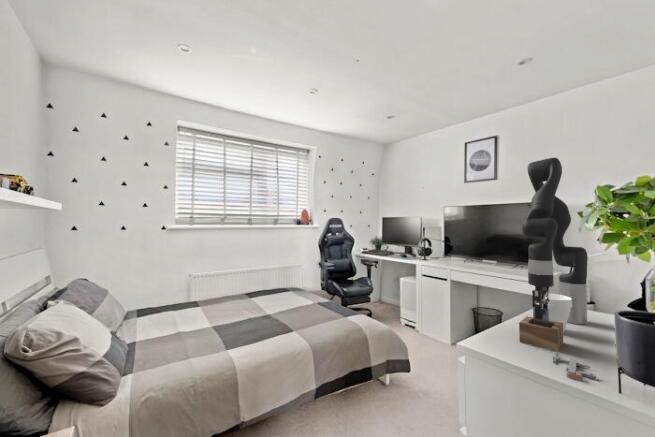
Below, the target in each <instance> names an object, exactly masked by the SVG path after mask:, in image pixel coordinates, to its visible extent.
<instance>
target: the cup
mask: <svg viewBox="0 0 655 437" xmlns="http://www.w3.org/2000/svg"><path fill="white" fill-rule="evenodd" d="M537 304H538V305H539V303H537ZM547 305H548V309H549V321H554V322H559V323H563V334H564V333H565V330H566V327H567V323H568V322H567V320H568V316H569V313H570V309H571V307H572V298H570V297H567V296H563V295H560V294H557V293H556V294H555V293H550V292H549V303H548V304H547Z"/></svg>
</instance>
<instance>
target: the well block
mask: <svg viewBox="0 0 655 437" xmlns="http://www.w3.org/2000/svg"><path fill="white" fill-rule="evenodd" d="M518 324H519V325H518V330H519V332H518V333H519V335H518V336H519V337H518V338H519V343H521V344H525V345H531V346H534V347H537V348H542V349H546V350H550V351H554V352H556V353H558V352H559V350H560V349H561V347H562V346H563V344H564V333H563V323H559V322H554V321H549V327H545V326H540V325H535V324H533V317H532V316H528V315H526V316H525V317H524V318H523V319H522V320H521V321H519V322H518Z"/></svg>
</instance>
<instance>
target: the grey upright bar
mask: <svg viewBox="0 0 655 437" xmlns="http://www.w3.org/2000/svg"><path fill="white" fill-rule="evenodd" d="M532 314H533V315H532V316H533V324H535V325H540V326H545V327H549V309H545V308H543V319H542V320H539V319H536V318H535V308H534V307H532Z"/></svg>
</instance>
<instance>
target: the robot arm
mask: <svg viewBox="0 0 655 437" xmlns="http://www.w3.org/2000/svg"><path fill="white" fill-rule="evenodd" d="M527 173H528V177H529V180H530V182H531V185H532V187H533V191H534V195H533V196H532V199H531V203H530V210H529V212H528V214H527V216H526V217H525V219H524V221H523V222H522V226H521V231H522V234H523V235H524V236H526V237H527V238H544V240H543V241H542V242H537V243H532V244H529V246H528V250H527V252H528V262H527V278H528V280H527V281H528V282H527V283H528V284H529V285H530V286H534V287H535V288H534V289H533V290H532V291H531V292H532V299H531V300H532V301H531V302H532V304H531V305H532V308H535V318H536V319H539V320H542V319H543V308H545V309H548V305H547V304H548V303H549V293H550V290H549V289H550V288H552V287H554V280H555V279H554V265H553V264H554V263H553V260H554V262H555V264H557V265H558V266H561V267H565V268H566V267H567V268H573V269H572V271H571V272H569V273H563V274H560V275H559V276H558V279H559V280H558V281H559V285H558V287H559V295H563V296H567V297H570V298H572V307H571V309H570V313H569V316H568V320H567V323H569V324H573V325H574V324H575V325H587V324H588V297H587V295H588V294H587V278H588V259H589V258H588V257H589V256H588V253H587V250H586V248H584V247H583V246H582V247H581V246H567V245H565V243H564V236H565V234H566V232H567V230H568V229H569V227H570V225H571V222H572V216H571V214H570V210H569V207H568V205H567V204H566V203H565V202H564V201H563V200H562V199H560V197H558V196H556V193H557V190H558V188H559V184H560V181H561V179H562V174H563V167H562V162H561V161H560V159H558V157H550V158H545V159H540V160H535V161H532V162H529V163H528V165H527ZM544 182H545V183H544ZM553 258H554V259H553ZM537 303H539V305H538V304H537Z"/></svg>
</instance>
